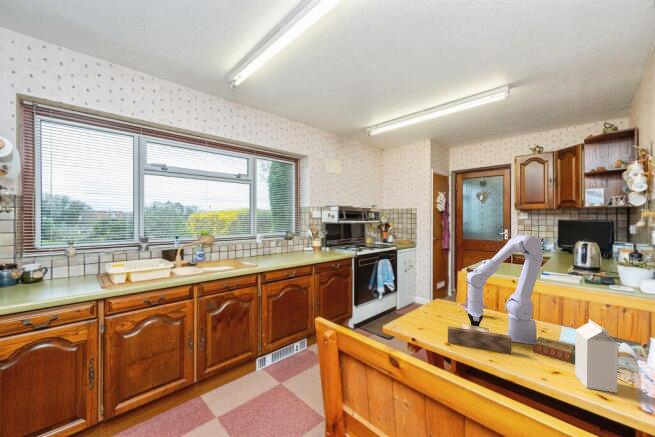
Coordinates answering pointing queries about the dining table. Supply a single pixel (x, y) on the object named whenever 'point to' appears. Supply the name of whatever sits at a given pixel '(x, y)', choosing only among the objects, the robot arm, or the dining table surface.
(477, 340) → the walnut board
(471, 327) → the maple block
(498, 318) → the dining table surface
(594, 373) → the milk carton
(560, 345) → the carton
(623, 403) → the dining table surface
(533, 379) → the dining table surface
